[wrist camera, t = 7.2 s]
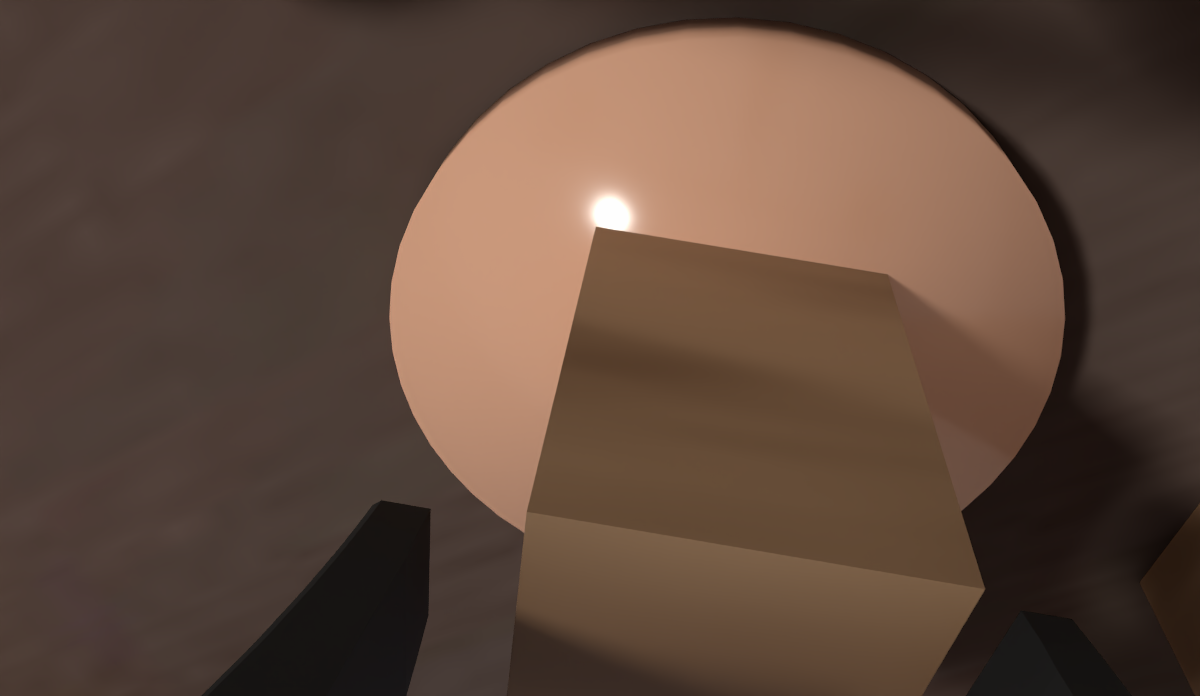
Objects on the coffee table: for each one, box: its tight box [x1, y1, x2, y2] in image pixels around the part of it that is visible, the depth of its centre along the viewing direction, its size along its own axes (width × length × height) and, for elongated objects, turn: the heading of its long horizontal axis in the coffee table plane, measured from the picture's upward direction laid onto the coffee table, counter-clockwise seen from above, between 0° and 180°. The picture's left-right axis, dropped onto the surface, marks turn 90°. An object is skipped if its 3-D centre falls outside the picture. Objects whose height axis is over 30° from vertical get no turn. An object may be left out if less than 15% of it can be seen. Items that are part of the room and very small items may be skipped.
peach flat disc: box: [389, 18, 1065, 532], centre depth 15 cm, size 11×11×1 cm
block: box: [507, 227, 985, 696], centre depth 12 cm, size 4×4×6 cm
